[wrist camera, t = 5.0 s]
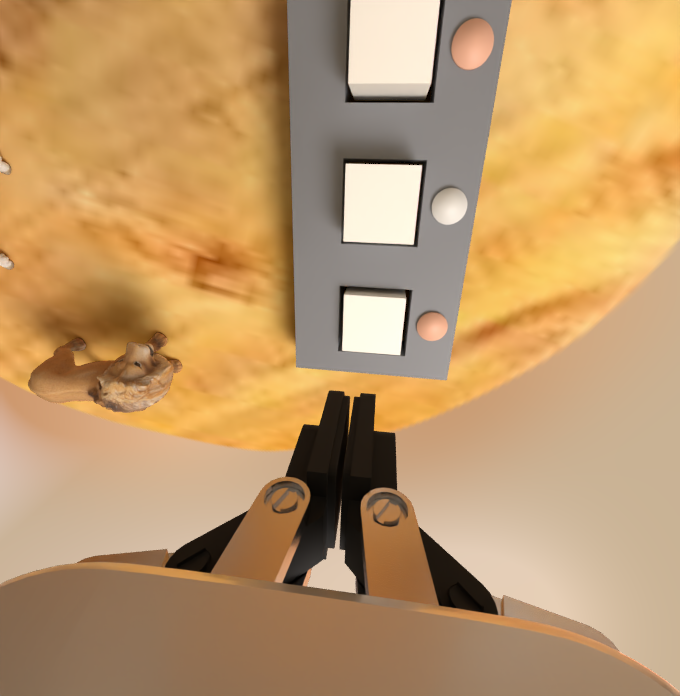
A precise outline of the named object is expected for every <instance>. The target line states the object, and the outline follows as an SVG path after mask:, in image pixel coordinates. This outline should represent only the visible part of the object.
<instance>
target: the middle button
mask: <svg viewBox="0 0 680 696" xmlns="http://www.w3.org/2000/svg"><path fill="white" fill-rule="evenodd" d="M421 171H422V165H387V164H346V172H345V205H344V238H343V241H344V242H366V243H388V244H410V245H414V236H415V227H416V217H417V208H418V199H419V190H420V181H421Z"/></svg>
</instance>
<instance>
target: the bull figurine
mask: <svg viewBox="0 0 680 696" xmlns="http://www.w3.org/2000/svg"><path fill="white" fill-rule="evenodd" d="M0 172H1V173H4V174H7V175H9V174H10V173H11V168H10V165H9V164H7V163H5V162H3V161H2V157H1V156H0ZM0 266H2V267H4V268H6V269H12V268H13V267H14V263H13V262H12V261H11V260H9V258H8V257H7V256H5V254H3V253H1V254H0Z"/></svg>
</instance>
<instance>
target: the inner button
mask: <svg viewBox="0 0 680 696" xmlns="http://www.w3.org/2000/svg"><path fill="white" fill-rule="evenodd" d="M439 6H440V0H351V8H350V41H349V74H348V84H349V87H350V89H351V92H352V94H353V97H354V99H355V100H425V98H426V96H427V93H428V90H429V88H430V85H431V79H432V70H433V61H434V52H435V43H436V33H437V24H438V15H439Z"/></svg>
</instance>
